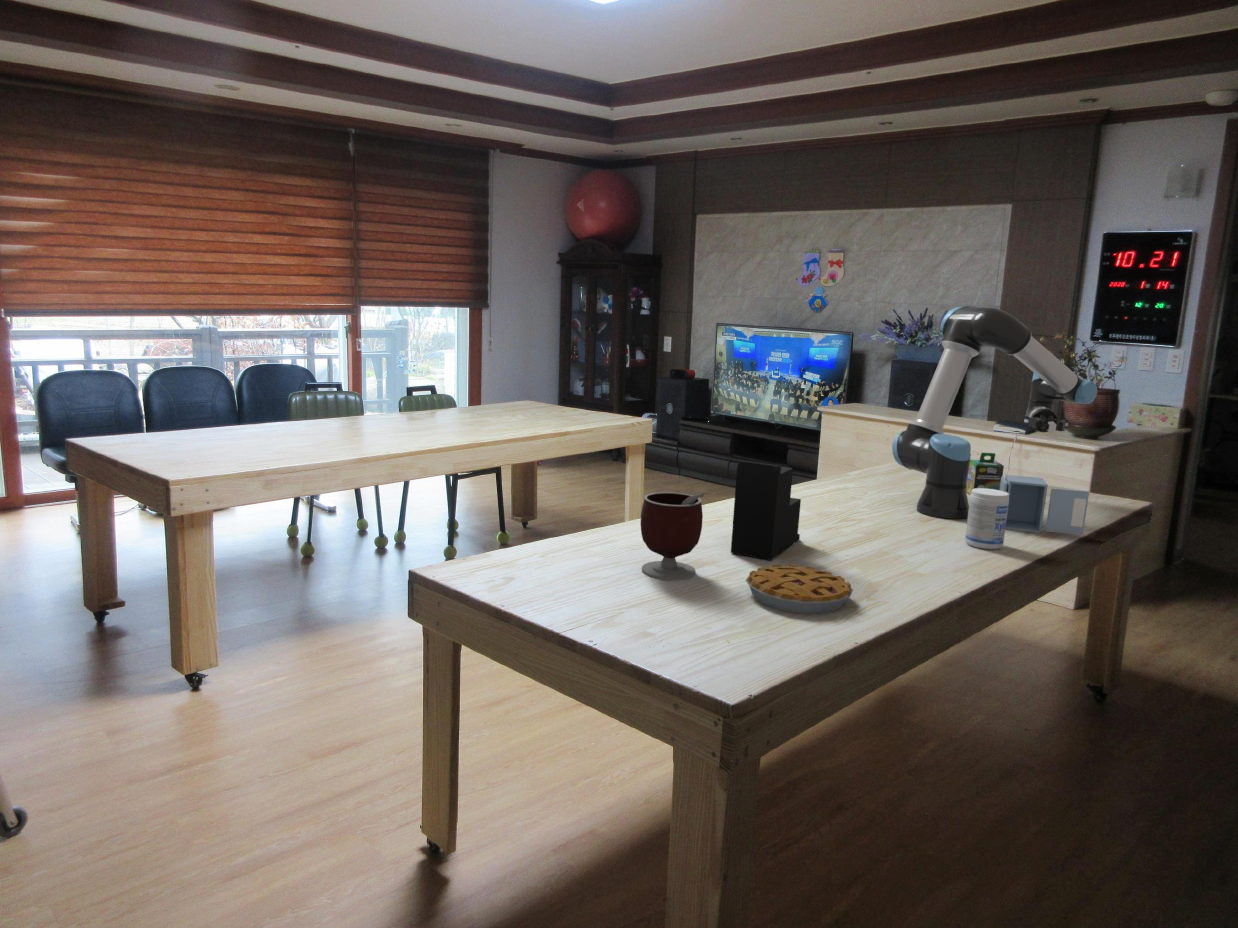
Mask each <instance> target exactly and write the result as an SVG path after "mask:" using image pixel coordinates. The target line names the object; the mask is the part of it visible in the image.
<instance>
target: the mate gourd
mask: <svg viewBox="0 0 1238 928" xmlns="http://www.w3.org/2000/svg"><path fill="white" fill-rule="evenodd" d="M704 495H705V494H704V493H702V492H701V493H700V492H699V493H697V494H690V493H689V494H688V493H684V492H683V493H682V492H681V493H680V492H670V491H668V492H667V491H661V492H651V493H648V494H646V495H644V500H643V503H642V507H641V512H640V532H641V537H642V541H643V542H644V544H645V545H646V547H647V549H648V550H649V551H651V552H653V553H655V554H657V555H660V556H662V557H663V558H662V560H656V561H649V562H646V563H644V564H643V565H642V566H641V573H642V574H643V575H644V576H647V577H649V578H653V579H657V580H660V581H661V580H663V581H685V580H689V579H692V578H694V577H695V576H696V568H695V567H694V566H692V565H691V564H688V563H684V562H679V561H677V559H676V558H677V557H680V556H683V555H687V554H689V553H691V552H692V551H693V549H695V547H696V546H697V545H698V544H699V541H700V538H701V535H702V534H701V533H702V529H703V517H704V516H703V506H702V499H701V498H702V497H704Z"/></svg>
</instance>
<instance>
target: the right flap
mask: <svg viewBox="0 0 1238 928" xmlns="http://www.w3.org/2000/svg"><path fill="white" fill-rule="evenodd" d="M1089 496H1090V491H1089V490H1079V489H1069V488H1068V489H1067V488H1057V487H1056V488H1055V487H1051V490H1050V496H1049V504H1048V511H1047V517H1046V525H1045V532H1052V533H1060V534H1061V533H1062V534H1071V535H1072V534H1073V535H1080V536H1081V535H1084V531H1085V530H1084V528H1085V522H1086V518H1087V517H1086V516H1087V511H1088V510H1087V508H1088V504H1089V503H1088V502H1089Z"/></svg>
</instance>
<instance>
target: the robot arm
mask: <svg viewBox="0 0 1238 928" xmlns="http://www.w3.org/2000/svg"><path fill="white" fill-rule="evenodd" d="M940 331H941V332H940V335H941V337H942V341H941V344H942V345H941V346H942V347H943V351H942V353H941V357H940V359H939V362H938V364H937V366H936V369H935V371H934V374H933V376H932V378H931V381H930V383H929V385H928V388H927V391H926V393H925V395H924V398H923V401H922V403H921V405H920V408H919V411H918V413H917V415H916V417H915V419H914V420H912V421H910V422H909V423H908V424H907V428H906V429H905V430H901V431H900V432H898V433H897V434H896V436H895V437H894V439H893V441H892V444H891V445H892V446H891V451H892V455H893V458H894V460H895V462H896V463H897V464H898V465H900V466H901V467H904V468H906V469H908V470H909V471H910V470H911V471H915V472H919V473H923V474H926V479H925V485H924V488H923V490H922V492H921V495H920V496H919V499H918V500H917V504H916V511H917V512H919V513H920V514H922V515H926V516H930V517H936V518H941V519H953V520H955V519H958V520H959V519H966V518H967V519H968V512H969V503H970V502H969V499H968V495H967V494H968V493H967V492H966V485H967V478H968V471H969V464H970V460H971V456H972V453H971V449H972V447H971V443H970V442H969V441H968V440H967V439H965V438H963V437H960V436H956V435H951V434H946V433H945V432H944V426H945V424H946V421H947V419H948V416H949V413H950V411H951V409H952V406H953V404H954V401H955V399H956V396H957V394H958V392H959V389H960V387H961V384H962V382H963V380H964V378H965V375H966V372H967V370H968V367H969V365H970V363H971V359H972V358H974V357H976V356H978V355H979V354H980V351H981V349H982V347H983V346H984V347H991V348H995V349H998V350H1000V351H1002V352H1003V353H1004V354H1005V355H1008V356H1013V357H1015V358H1016V359H1017V360H1018V361H1020V363H1021V364H1023V365H1024V366H1026V367H1027V368H1028V369H1029V370H1030V371H1031V372H1032V373H1033V374H1032V375H1033V376H1032V379H1031V384H1030V386H1031V387H1030V394H1029V401H1028V405H1027V410H1026V413H1025V416H1024V422H1023V425H1025V426H1028V427H1032V428H1033V429H1035V430H1036V431H1037V432H1038V433H1049V434H1056V431H1058V432H1062V431H1064V430H1065V429H1068V427H1069V422H1070V421H1069V420H1068V419H1062V420H1060V419H1059V418H1058V417H1057V414H1056V413H1055V412H1054V411H1053V410H1054V403H1055V401H1062V402H1066V403H1073V404H1077V405H1080V404H1081V405H1088V404H1089V405H1090V404H1091V403H1093V402H1094V401H1095V399H1096V397H1097V395H1098V386H1097V384H1096V383H1095V382H1094V381H1091V380H1088V379H1082V378H1080V377H1079V376H1078V375H1077V374H1076V373H1075V372H1073V370H1071V369H1070V368H1069V367H1068V366H1066V365H1065V364H1064V363H1063V362H1062V361H1061V360H1060V359H1059V358H1057V357H1056V356H1055V355H1054V354H1053V353H1051V352H1050V351H1049V350H1048V348H1046V347H1045V346H1043V345H1042V344H1041V343H1040V342H1039V341H1037V339H1036V338H1034V336H1032V335H1033V334H1032V331H1031V329H1029V327H1027V326H1026V325H1025V324H1024V323H1023V322H1021V321H1020V320H1019V319H1017V318H1016V317H1014V316H1013V315H1012V314H1010V313H1008V312H1007V311H1005V310H1002V309H1000V308H996V307H982V306H981V307H980V306H970V305H964V306H958V307H956V306H955V307H954V308H953V309H950V310H949V311H947V313H946V314H945V315H944V316H943V318H942V320H941V324H940Z"/></svg>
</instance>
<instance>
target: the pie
mask: <svg viewBox="0 0 1238 928" xmlns="http://www.w3.org/2000/svg"><path fill="white" fill-rule="evenodd" d="M745 582H746V583H747V585H748V587H749V589H750V592H751V595H752V596H753V598H754V599H755V600H757V601H758V602H761V603H762V604H764V605H765V606H767V607H771V608H774V609H776V610H780V611H783V612H789V613H794V614H802V615H807V614H809V615H810V614H811V615H814V614H815V615H816V614H824V613H829V612H830V613H831V612H833V611H836V610H838V609H841V608H843V605H844V604H845V602H846V601H847V599H849V598H850V597H851V595H852V593H853V591H854V589H853V588H852V585H851V584H850V582H849V581H848V582H847V581H845V578H843V576H841V575H833V573H832V571H827V570H823V571H822V570H817V569H815V567H809V566H807V567H801V566H799V565H797V564H789V565H788V566H787V565H786V566H784V565H783V566H782V565H780V564H773V565H771V567H764V566H762V567H758V568H757V569H756V570H751V571H750V572H749V576H747V578H746V579H745Z"/></svg>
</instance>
